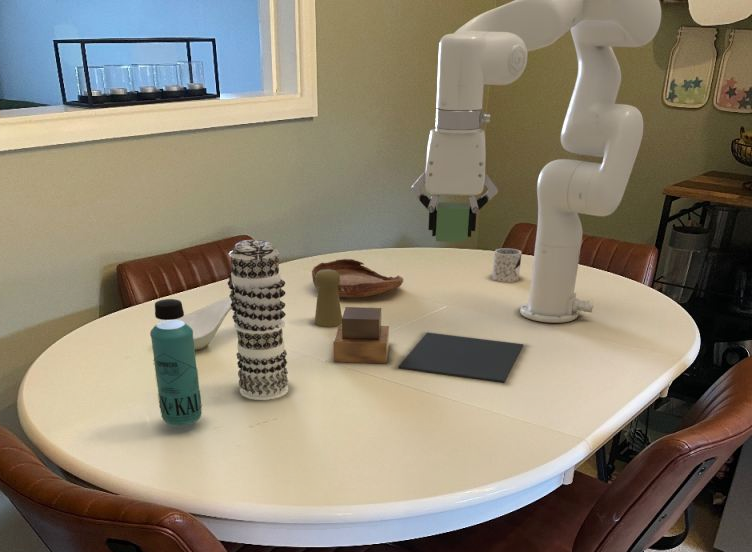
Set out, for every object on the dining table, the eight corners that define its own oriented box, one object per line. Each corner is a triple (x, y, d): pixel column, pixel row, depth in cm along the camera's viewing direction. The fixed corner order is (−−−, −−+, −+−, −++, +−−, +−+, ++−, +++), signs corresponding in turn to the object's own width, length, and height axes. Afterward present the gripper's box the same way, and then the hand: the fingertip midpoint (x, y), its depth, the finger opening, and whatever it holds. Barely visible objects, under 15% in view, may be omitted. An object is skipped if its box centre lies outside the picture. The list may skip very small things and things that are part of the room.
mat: (523, 346, 155) (523, 344, 154) (504, 382, 139) (504, 380, 138) (426, 334, 160) (427, 332, 160) (398, 368, 144) (398, 366, 144)
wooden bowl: (418, 288, 188) (419, 267, 185) (375, 309, 174) (375, 287, 171) (342, 274, 198) (342, 254, 195) (295, 293, 184) (294, 272, 181)
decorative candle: (268, 405, 130) (258, 253, 116) (226, 393, 134) (212, 245, 120) (300, 387, 136) (294, 241, 123) (259, 376, 140) (249, 234, 127)
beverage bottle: (165, 417, 125) (147, 295, 115) (206, 415, 126) (192, 294, 115) (159, 435, 120) (140, 308, 109) (202, 433, 120) (187, 307, 110)
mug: (520, 282, 193) (523, 255, 189) (494, 282, 193) (496, 254, 189) (514, 271, 201) (517, 245, 198) (489, 271, 202) (491, 245, 198)
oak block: (388, 345, 154) (389, 325, 152) (386, 363, 146) (386, 343, 144) (339, 343, 155) (338, 324, 153) (333, 361, 147) (333, 341, 144)
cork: (338, 327, 163) (338, 275, 157) (311, 325, 164) (309, 273, 158) (345, 318, 168) (344, 267, 162) (318, 316, 169) (317, 265, 163)
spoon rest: (180, 361, 146) (175, 324, 142) (147, 345, 153) (141, 310, 149) (277, 332, 160) (275, 298, 156) (243, 319, 167) (240, 286, 163)
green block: (466, 234, 139) (468, 202, 136) (467, 241, 135) (469, 208, 132) (435, 234, 140) (437, 201, 137) (435, 241, 135) (437, 208, 132)
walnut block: (381, 328, 151) (381, 307, 149) (379, 340, 145) (379, 319, 143) (345, 326, 152) (345, 306, 149) (342, 339, 146) (341, 318, 144)
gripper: (508, 119, 130) (498, 231, 139) (407, 118, 131) (403, 229, 141) (512, 124, 123) (501, 241, 133) (405, 123, 125) (402, 238, 134)
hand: (451, 233), depth 137 cm, fingers closed on green block, 5 cm apart
